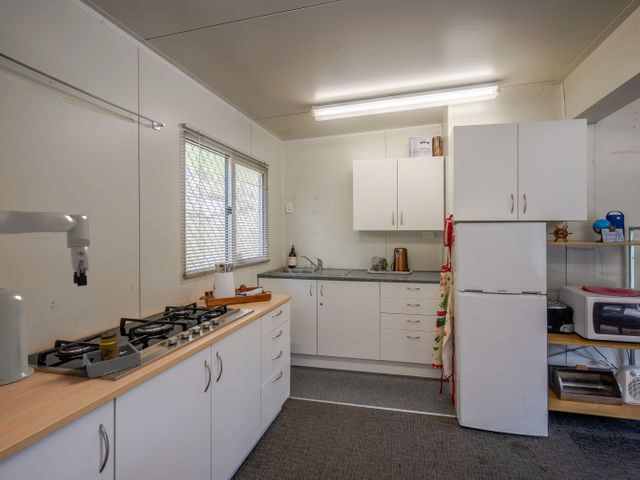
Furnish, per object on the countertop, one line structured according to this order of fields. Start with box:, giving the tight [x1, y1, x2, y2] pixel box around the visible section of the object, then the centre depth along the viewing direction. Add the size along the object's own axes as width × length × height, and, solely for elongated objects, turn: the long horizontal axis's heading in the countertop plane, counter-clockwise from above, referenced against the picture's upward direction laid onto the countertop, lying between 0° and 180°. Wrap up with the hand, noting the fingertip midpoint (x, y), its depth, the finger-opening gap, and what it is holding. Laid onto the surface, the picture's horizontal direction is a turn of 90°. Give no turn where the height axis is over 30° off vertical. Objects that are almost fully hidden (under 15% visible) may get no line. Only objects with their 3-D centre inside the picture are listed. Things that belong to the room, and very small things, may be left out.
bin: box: [82, 342, 142, 380], centre depth 120 cm, size 16×15×5 cm
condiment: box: [98, 332, 119, 362], centre depth 121 cm, size 7×8×12 cm
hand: (80, 284), depth 130 cm, fingers open, 9 cm apart
